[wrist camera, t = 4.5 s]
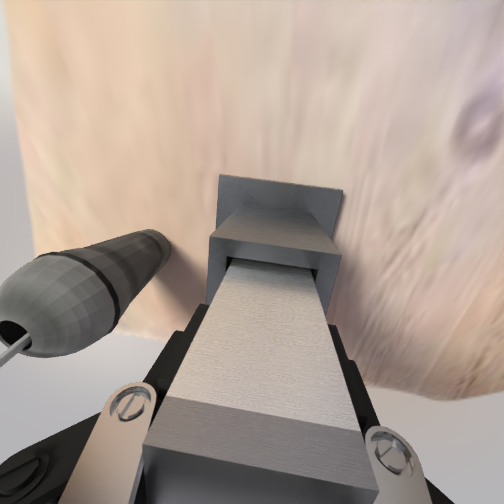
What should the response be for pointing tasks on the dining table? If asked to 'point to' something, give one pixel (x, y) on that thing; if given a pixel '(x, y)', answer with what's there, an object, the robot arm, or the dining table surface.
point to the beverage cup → (76, 294)
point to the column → (259, 403)
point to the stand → (275, 229)
